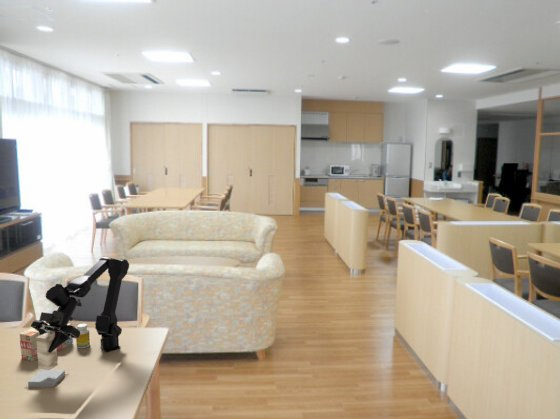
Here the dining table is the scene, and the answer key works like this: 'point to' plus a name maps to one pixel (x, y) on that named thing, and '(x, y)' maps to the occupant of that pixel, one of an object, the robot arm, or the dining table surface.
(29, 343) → the stack of blocks
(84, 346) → the supplement bottle
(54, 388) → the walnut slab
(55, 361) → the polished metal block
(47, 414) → the dining table surface
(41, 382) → the slate slab
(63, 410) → the dining table surface
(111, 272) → the robot arm
